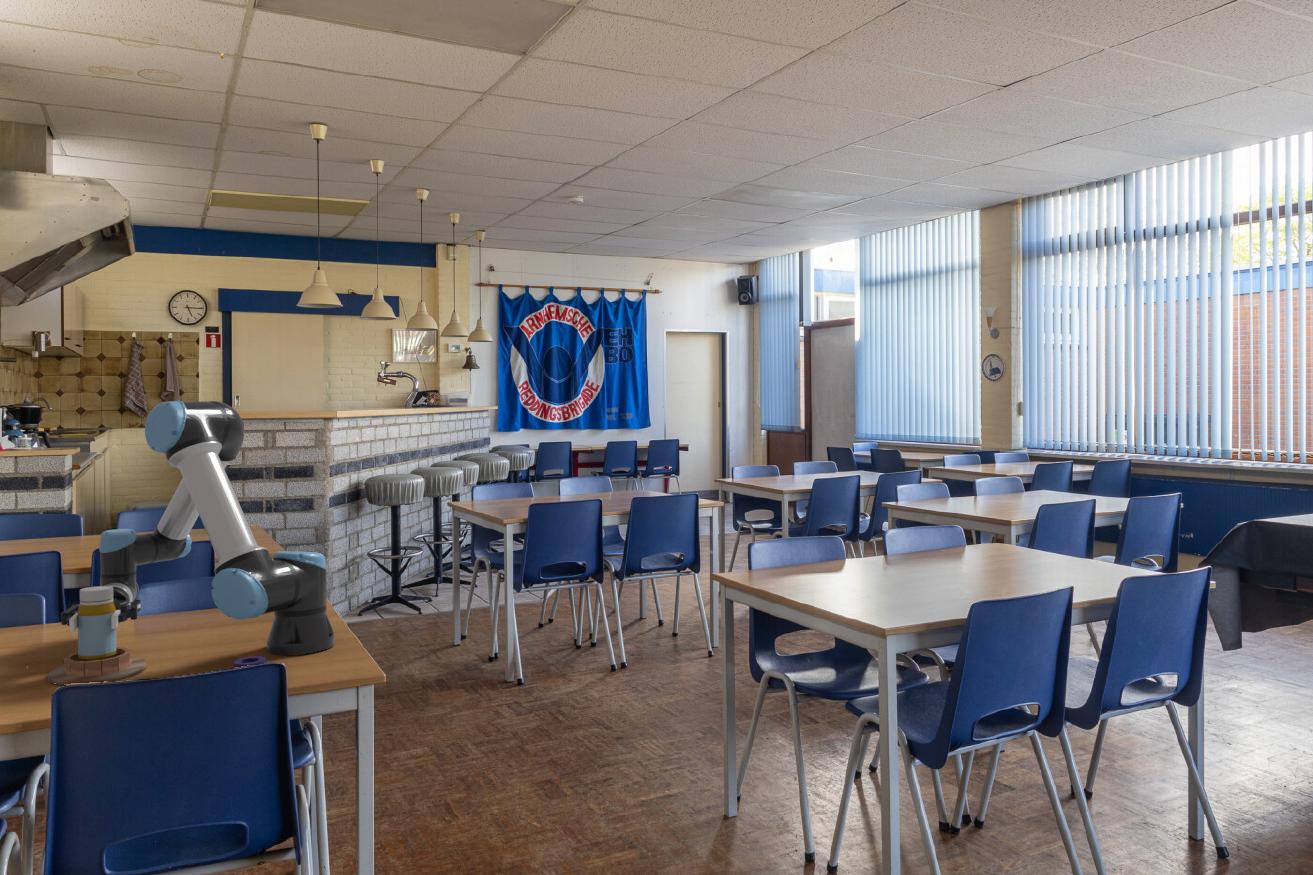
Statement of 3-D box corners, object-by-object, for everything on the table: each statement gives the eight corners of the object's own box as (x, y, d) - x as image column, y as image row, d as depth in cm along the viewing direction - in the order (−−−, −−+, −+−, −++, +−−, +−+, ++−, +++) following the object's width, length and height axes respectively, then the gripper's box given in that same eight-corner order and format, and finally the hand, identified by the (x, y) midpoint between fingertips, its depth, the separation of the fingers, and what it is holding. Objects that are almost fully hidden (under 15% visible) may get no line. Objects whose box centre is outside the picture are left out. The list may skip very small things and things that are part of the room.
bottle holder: (161, 670, 195) (160, 652, 194) (68, 691, 180) (67, 671, 180) (125, 656, 205) (124, 639, 205) (34, 675, 191) (34, 656, 191)
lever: (248, 669, 196) (248, 655, 196) (272, 671, 195) (272, 657, 194) (207, 685, 185) (206, 670, 185) (231, 688, 183) (231, 673, 183)
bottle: (93, 653, 197) (92, 585, 196) (123, 653, 196) (122, 585, 196) (70, 661, 190) (69, 591, 189) (101, 662, 189) (100, 591, 189)
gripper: (159, 614, 213) (146, 637, 192) (62, 621, 205) (37, 646, 184) (159, 583, 213) (146, 602, 192) (61, 589, 205) (36, 610, 184)
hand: (92, 624), depth 188 cm, fingers closed on bottle, 7 cm apart
